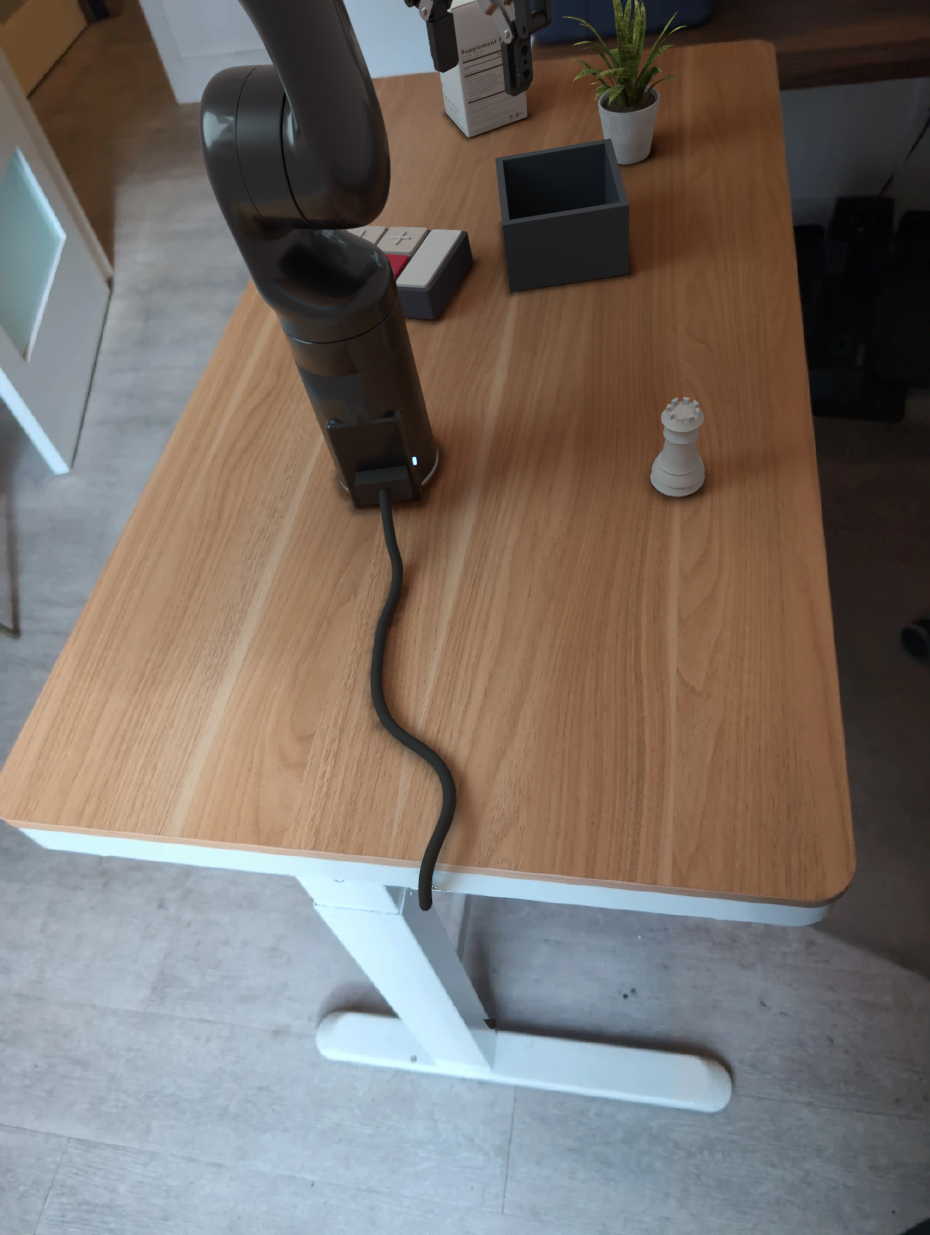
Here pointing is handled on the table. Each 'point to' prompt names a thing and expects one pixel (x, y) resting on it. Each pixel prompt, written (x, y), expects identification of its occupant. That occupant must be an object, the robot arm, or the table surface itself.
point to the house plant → (627, 85)
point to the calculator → (422, 264)
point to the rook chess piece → (679, 450)
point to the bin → (563, 215)
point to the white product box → (479, 74)
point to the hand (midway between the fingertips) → (482, 80)
